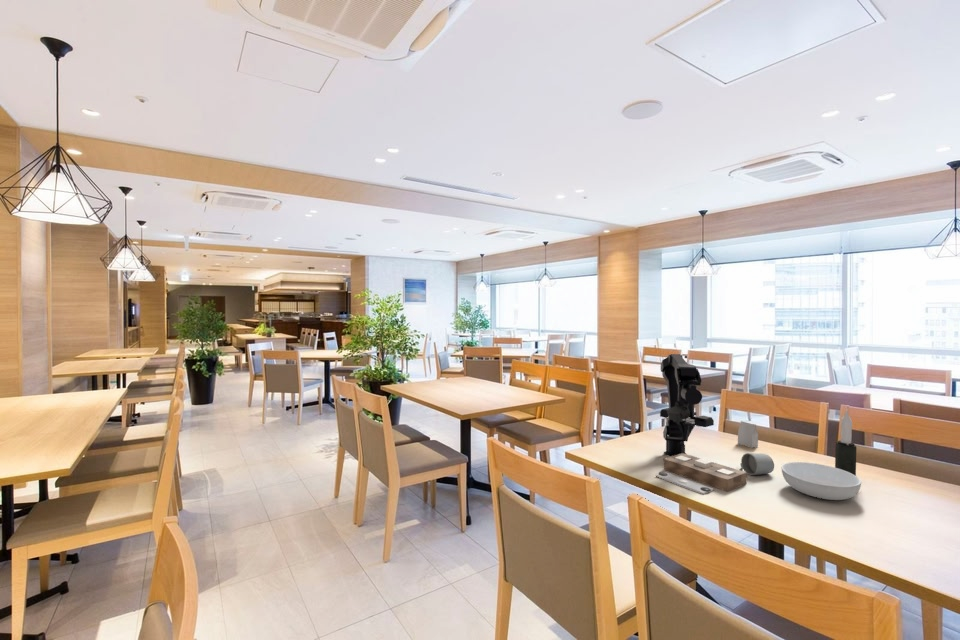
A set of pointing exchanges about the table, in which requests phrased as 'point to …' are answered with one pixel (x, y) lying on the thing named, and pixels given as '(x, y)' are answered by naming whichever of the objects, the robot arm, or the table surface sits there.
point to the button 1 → (683, 458)
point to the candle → (846, 447)
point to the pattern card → (684, 482)
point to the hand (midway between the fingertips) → (685, 439)
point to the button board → (706, 473)
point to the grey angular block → (748, 434)
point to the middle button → (703, 463)
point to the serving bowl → (821, 480)
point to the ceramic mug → (757, 463)
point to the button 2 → (725, 472)
